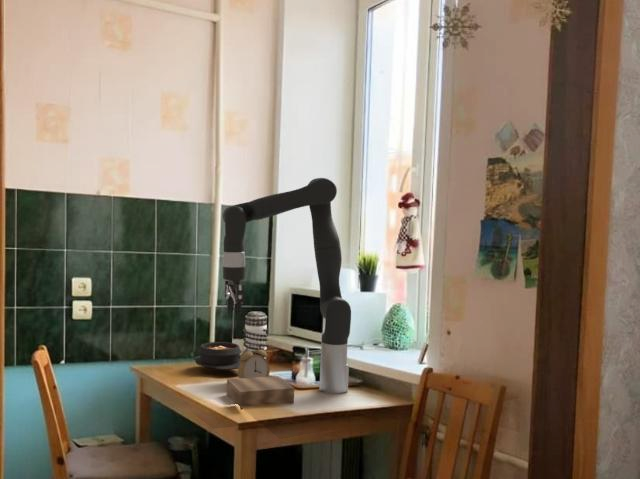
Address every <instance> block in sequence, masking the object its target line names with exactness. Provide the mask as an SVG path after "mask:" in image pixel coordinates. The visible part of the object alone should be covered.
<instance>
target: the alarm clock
mask: <svg viewBox="0 0 640 479" xmlns="http://www.w3.org/2000/svg"><path fill="white" fill-rule="evenodd" d="M252 345H257V344H251V345H249V346H248V347H247V348H246V350H245V349H244V350H243V351H242V352H241V353H240V355H239V359H241V362H240V364H239V366H238V369H237V375H238V376H237V377H238V378H253V377H269V376H270V363H269V362H268V359H267V358H268V353H267V352H266V350H265V351H264V349H262V348H261V347H260V346H259V345H257V346H258V347H259V348H260V349H258V350H256V351H255V352H253V353H252V352H251V351H247V350H248V348H249V347H250V346H252ZM254 353H255V354H254ZM256 354H257V355H256ZM264 357H266V359H265V358H264Z"/></svg>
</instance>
